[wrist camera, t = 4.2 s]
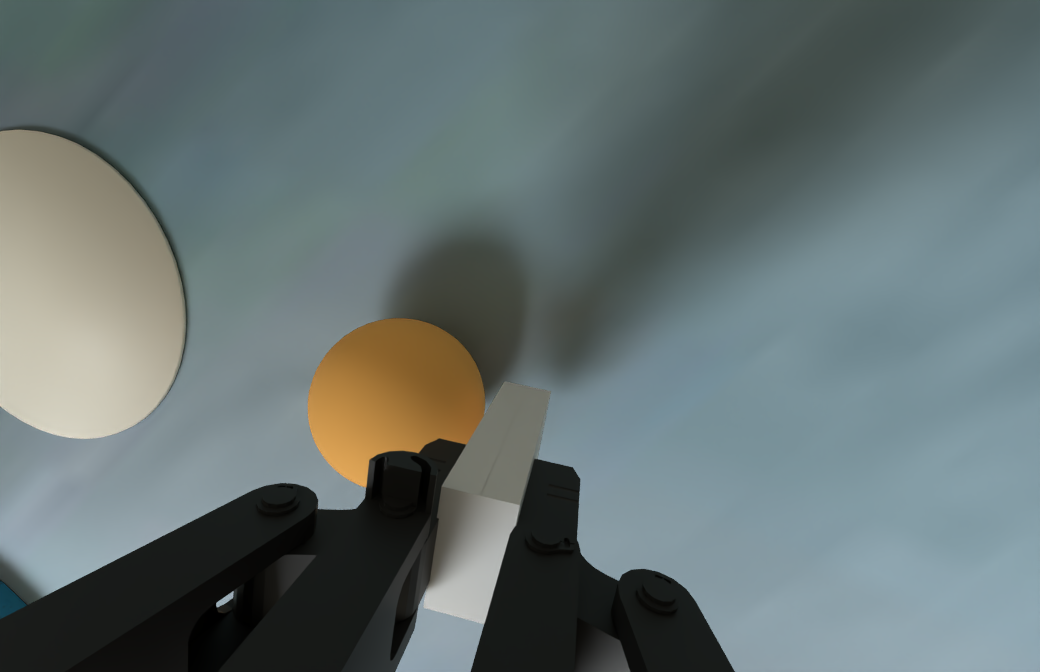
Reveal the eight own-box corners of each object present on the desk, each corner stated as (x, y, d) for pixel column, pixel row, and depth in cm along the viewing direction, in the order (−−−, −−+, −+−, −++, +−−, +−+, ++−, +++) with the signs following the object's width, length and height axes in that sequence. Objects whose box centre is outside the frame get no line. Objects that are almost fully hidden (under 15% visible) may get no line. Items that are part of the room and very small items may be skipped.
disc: (188, 157, 18) (183, 156, 18) (184, 467, 21) (180, 469, 21) (-90, 109, 20) (-96, 108, 20) (-57, 401, 23) (-62, 403, 23)
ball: (512, 323, 17) (470, 361, 12) (488, 461, 19) (441, 550, 13) (369, 293, 18) (271, 318, 13) (356, 428, 19) (261, 501, 14)
